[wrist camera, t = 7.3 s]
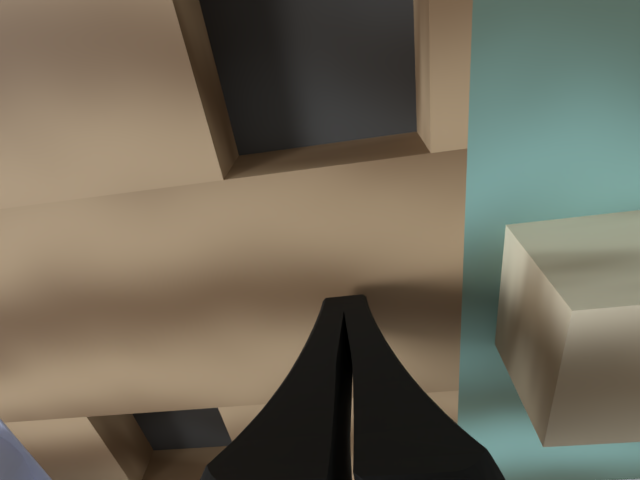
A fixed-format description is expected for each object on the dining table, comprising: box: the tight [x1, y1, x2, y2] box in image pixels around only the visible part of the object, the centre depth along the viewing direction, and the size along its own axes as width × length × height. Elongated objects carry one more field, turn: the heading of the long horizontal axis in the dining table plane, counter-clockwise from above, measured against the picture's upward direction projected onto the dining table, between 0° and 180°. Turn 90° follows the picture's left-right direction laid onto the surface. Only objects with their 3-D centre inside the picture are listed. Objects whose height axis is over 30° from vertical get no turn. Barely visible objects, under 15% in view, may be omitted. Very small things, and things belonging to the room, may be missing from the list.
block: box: [495, 210, 640, 447], centre depth 12 cm, size 5×5×4 cm
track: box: [0, 0, 640, 480], centre depth 14 cm, size 24×30×4 cm
